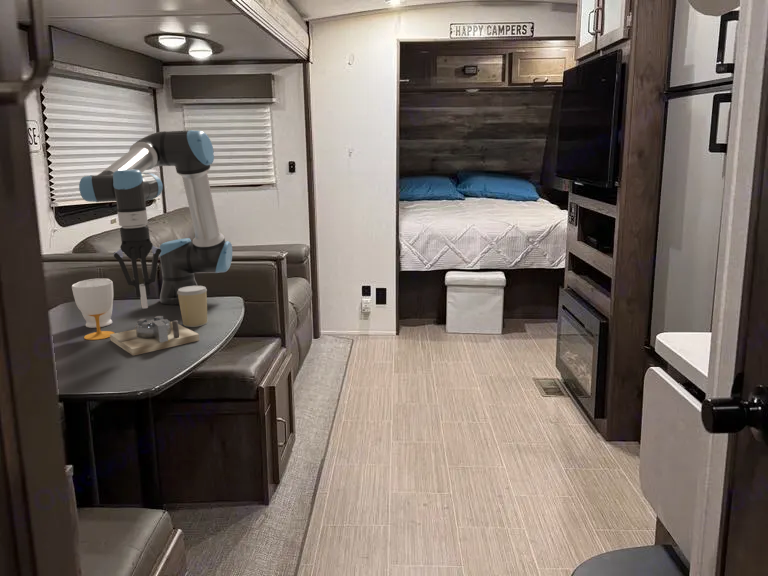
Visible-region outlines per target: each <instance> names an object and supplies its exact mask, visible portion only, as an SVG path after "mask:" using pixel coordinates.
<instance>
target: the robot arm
mask: <svg viewBox="0 0 768 576" xmlns="http://www.w3.org/2000/svg"><path fill="white" fill-rule="evenodd" d="M214 160H215V155H214V147H213V143H212V141H211V139H210V137H209V136H208V134H207V133H206V132H204V131H202V130H193V129H190V130H189V129H188V130H187V129H186V130H170V131H156V132H154V133H151V134H148V135H146V136H144V137H142V138H140V139H139V140H137V141H136V142H134V143H132V145H131V146H130V148H129V149H128V152H126V153H125V154H124V155H123V156H121V157H120V158H119V159H117V160H116V161H115V162H113V163H112V164H111V165H109V166H108V167H106V168H105V169H104V170H103V171H101V172H100V173H98V174H97V175H86V176H82V178H81V179H80V180H79V183H78V185H79V186H78V188H79V189H78V191H79V194H80V196H81V198H82V199H83V200H84V201H85V202H89V203H90V202H91V203H92V202H93V203H105V202H107V203H108V202H109V203H110V202H116V207H117V208H116V211H117V217H118V224H119V226H120V229H119V233H120V239H121V245H120V247H119V249H118V250H117V251H115V252H113V253H112V255H113V257H114V259H116V260H117V262H118V265H120V268H121V270H122V273H123V275H124V278H125V281H126V283H127V285H128V286H133V287H134V291H135V297H137V298H140V303H141V304H140V305H141V308H142V309H143V310H144V309H148V308H149V306H148V305H149V304H148V299H147V298H148V296H149V297H150V296H151V291H150V289H151V288H150V285H151V284H152V283H155V282H156V277H157V270H158V262H159V261H160V268H161V277H162V285H161V290H160V294H159V301H160V304H162V305H180V304H179V298H178V294H177V291H178V289H180V288H182V287H187V286H199V285H198V283H197V281H196V279H195V274H218V273H226V272H227V271H228V270H229V269H230V267H231V265H232V261H233V246H232V242H231V241H228V240H226V238H225V235H224V234H223V233H222V232H220V230H219V225H218V220H217V215H216V211H215V206H214V201H213V195H212V192H211V185H210V180H209V176H208V172H209V170H210V169H211V165H212V164H213V163H214ZM155 167H175V171H176V174H178V175H179V176H181V177H182V181H183V182H182V183H183V186H184V191H185V195H186V199H187V205H188V210H189V212H190V213H189V214H190V217H191V221H192V222H191V223H192V227H193V232H194V234H195V235H194V238H193V239H192V240H191V238H190V237H189V238H188V237H187V238H186V237H184V238H179V239H178V238H177V239H173V240H169V241H166V242H163V243H161V244H160V245H159V247H158V246H155V245H154V244H153V243H152V241H151V239H150V237H151V236H150V235H151V234H150V230H149V228H150V227H149V226H148V225H147V224H148V223H149V222H148V220H149V219H148V214H147V206H146V201H152V200H154V199H156V198H158V197H160V195H161V194H162V192H163V189H164V187H163V182H162V180H161V178H160V177H159V176H158V175H156V174H154V173H150V172H149V173H148V172H147V173H145V171H149V170H152V169H153V168H155ZM150 252H151V253H152V260H151V267H150V273H148V265H147V257H148V255H149V253H150ZM123 254H125V255H126V257H128V258H129V259H130V262H131V269H132V271H131V272H132V278H133V280H132V278H131V276H130V274H129V272H128V269H127V266H126V264H125V262H124V260H123V258H124V255H123ZM138 259H140V264H141V273H142V281H143V283H141V284H140V279H139V272H138V263H137V262H138V261H137V260H138ZM159 259H160V260H159ZM149 274H150V275H149Z"/></svg>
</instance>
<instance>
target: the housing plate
mask: <svg viewBox="0 0 768 576" xmlns="http://www.w3.org/2000/svg"><path fill="white" fill-rule="evenodd" d="M170 325H171V333H169V334H168V341H166V342H161V343H160V342H159V341H157V340H156V339H155V338H139V337H137V335H136V328H134V329H129V330H125V331H120V332H116V333H115V332H114V334H110V337H109V339H110V341H111V342H112V343H114V344H115V345H116V346H118V347H120V348H122V350H124V351H125V352H127V353H129V355H131V356H132V357H133V356H139V355H141V354H142V355H143V354H146V353H151V352H155V351H159V350H160V351H161V350H164V349H168V348H172V347H177V346H181V345H185V344H190V343H193V342H198V341H200V334H199V333H198V332H196V331H193V330H192V329H189V328H188V327H186V326H184V325H181V324H179V320H172V321H170Z"/></svg>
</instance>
